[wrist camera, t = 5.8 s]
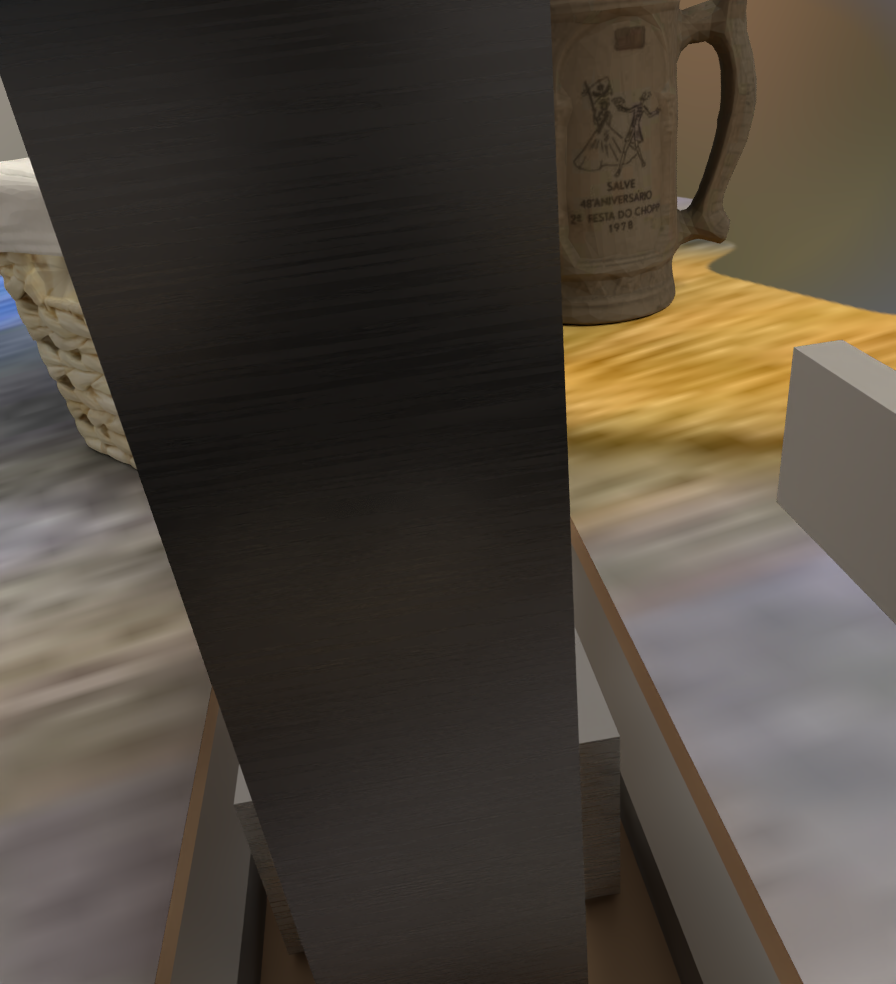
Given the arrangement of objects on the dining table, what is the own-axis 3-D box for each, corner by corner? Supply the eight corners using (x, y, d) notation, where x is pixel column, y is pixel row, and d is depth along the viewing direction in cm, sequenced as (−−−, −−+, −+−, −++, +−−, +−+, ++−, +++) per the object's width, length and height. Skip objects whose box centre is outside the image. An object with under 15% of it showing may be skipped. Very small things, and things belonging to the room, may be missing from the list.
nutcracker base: (551, 517, 32) (540, 299, 28) (943, 1373, 11) (1147, 1054, 7) (255, 565, 32) (195, 350, 27) (101, 1561, 11) (-266, 1342, 6)
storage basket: (212, 538, 34) (98, 173, 27) (43, 453, 44) (-73, 169, 37) (536, 352, 49) (521, 84, 42) (356, 320, 59) (318, 98, 51)
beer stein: (535, 338, 51) (539, -39, 41) (492, 294, 60) (488, -22, 50) (756, 314, 53) (811, -48, 43) (683, 275, 62) (714, -30, 52)
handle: (569, 741, 19) (515, -392, 10) (698, 1127, 12) (966, -1496, 3) (297, 788, 19) (-41, -336, 9) (275, 1214, 12) (-1134, -1444, 2)
